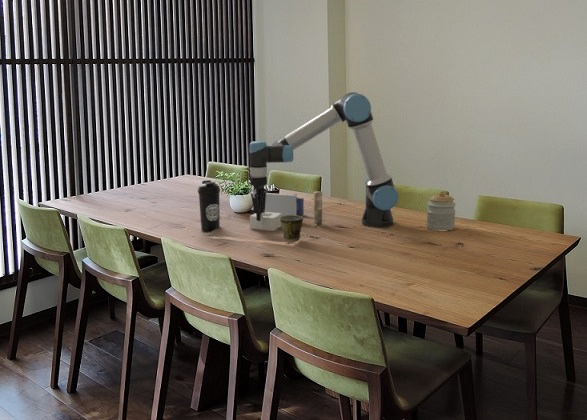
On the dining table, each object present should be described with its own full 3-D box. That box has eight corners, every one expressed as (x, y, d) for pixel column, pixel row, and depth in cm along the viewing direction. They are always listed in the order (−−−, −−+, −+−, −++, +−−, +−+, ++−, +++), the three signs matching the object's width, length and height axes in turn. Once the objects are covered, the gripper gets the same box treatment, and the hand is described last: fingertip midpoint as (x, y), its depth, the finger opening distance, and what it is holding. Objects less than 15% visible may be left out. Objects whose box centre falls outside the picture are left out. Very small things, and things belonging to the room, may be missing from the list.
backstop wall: (296, 223, 340) (296, 194, 337) (278, 235, 319) (278, 204, 316) (262, 220, 346) (261, 192, 343) (242, 231, 325) (241, 202, 322)
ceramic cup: (281, 236, 316) (281, 215, 314) (303, 236, 315) (303, 215, 313) (278, 244, 304) (278, 222, 301) (301, 244, 303) (301, 222, 300)
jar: (421, 229, 326) (422, 191, 322) (434, 223, 336) (435, 187, 332) (447, 233, 318) (448, 195, 314) (459, 227, 328) (461, 190, 324)
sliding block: (282, 225, 330) (281, 213, 329) (273, 230, 321) (273, 218, 320) (258, 223, 334) (258, 211, 333) (249, 228, 325) (249, 216, 324)
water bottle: (204, 233, 323) (202, 184, 318) (196, 228, 332) (194, 180, 327) (224, 230, 328) (223, 182, 322) (216, 226, 336) (214, 178, 331)
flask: (304, 215, 357) (304, 194, 354) (301, 216, 354) (301, 195, 352) (288, 213, 361) (288, 192, 359) (286, 214, 359) (285, 193, 356)
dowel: (323, 224, 337) (323, 191, 333) (320, 226, 333) (320, 193, 330) (315, 223, 338) (315, 191, 335) (312, 225, 335) (312, 192, 331)
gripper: (256, 173, 322) (257, 223, 328) (244, 178, 310) (246, 229, 316) (271, 173, 320) (272, 224, 325) (260, 179, 308) (261, 231, 313)
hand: (259, 227), depth 320 cm, fingers closed
